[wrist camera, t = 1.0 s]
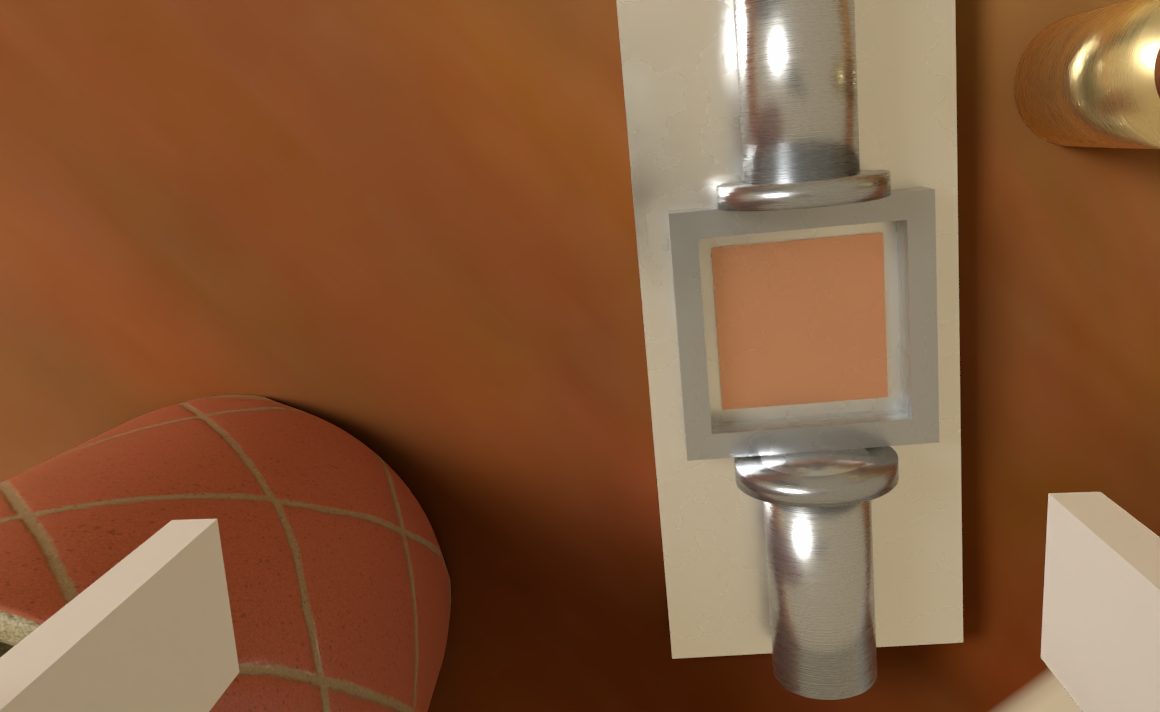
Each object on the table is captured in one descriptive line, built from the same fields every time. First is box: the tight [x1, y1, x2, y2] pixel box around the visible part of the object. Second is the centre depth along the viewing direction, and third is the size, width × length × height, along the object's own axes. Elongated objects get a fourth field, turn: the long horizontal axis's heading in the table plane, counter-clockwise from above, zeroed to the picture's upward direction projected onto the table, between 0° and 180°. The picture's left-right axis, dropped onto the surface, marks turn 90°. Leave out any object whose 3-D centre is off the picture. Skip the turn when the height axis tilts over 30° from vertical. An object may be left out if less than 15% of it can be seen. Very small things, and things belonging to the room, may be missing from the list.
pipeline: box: [616, 0, 963, 700], centre depth 36 cm, size 28×12×6 cm, turn 6°
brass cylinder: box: [1014, 0, 1160, 149], centre depth 32 cm, size 5×5×10 cm
